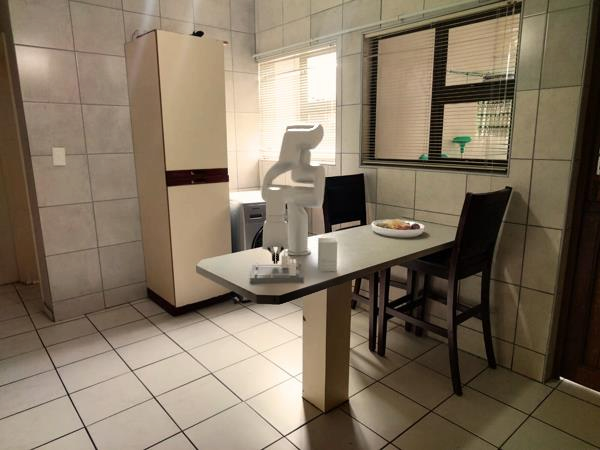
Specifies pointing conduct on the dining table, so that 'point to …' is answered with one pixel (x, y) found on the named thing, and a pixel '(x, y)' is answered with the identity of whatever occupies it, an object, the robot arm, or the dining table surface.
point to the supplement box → (327, 254)
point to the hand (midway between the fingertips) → (275, 262)
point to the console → (275, 274)
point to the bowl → (397, 228)
